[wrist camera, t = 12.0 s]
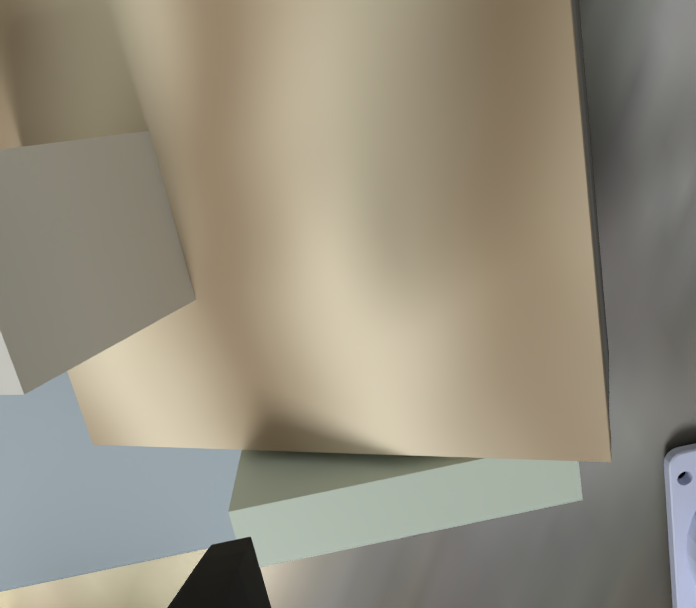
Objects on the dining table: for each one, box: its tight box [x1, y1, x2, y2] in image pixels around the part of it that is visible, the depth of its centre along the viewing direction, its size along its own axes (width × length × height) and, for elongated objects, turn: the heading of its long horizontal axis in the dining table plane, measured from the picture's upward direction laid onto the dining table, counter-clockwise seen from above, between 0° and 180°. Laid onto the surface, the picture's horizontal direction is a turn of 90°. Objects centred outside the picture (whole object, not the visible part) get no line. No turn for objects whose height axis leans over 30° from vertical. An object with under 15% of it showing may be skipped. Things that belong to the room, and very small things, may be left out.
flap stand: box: [228, 450, 583, 567], centre depth 15 cm, size 8×17×6 cm, turn 11°
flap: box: [0, 0, 611, 462], centre depth 15 cm, size 14×12×4 cm
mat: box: [0, 371, 242, 592], centre depth 18 cm, size 22×10×1 cm, turn 11°
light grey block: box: [0, 131, 196, 395], centre depth 13 cm, size 4×4×5 cm
